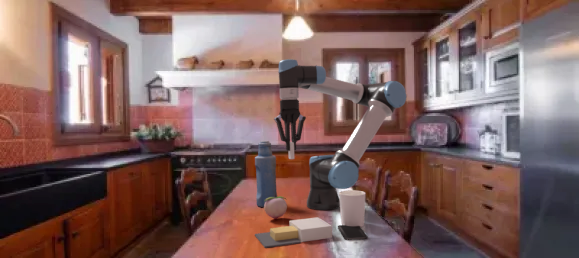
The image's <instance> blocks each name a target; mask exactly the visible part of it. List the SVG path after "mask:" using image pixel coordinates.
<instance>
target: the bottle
mask: <svg viewBox="0 0 579 258" xmlns="http://www.w3.org/2000/svg"><path fill="white" fill-rule="evenodd" d="M257 153H258V154H257V156H255V157H254V166H255V171H256V172H255V174H256V179H255V180H256V196H255V197H256V198H255V199H256V206H257V207H259V208H264V204H265V202H266V201H267V200H266V199H267V198H269V197H274V198H275V194H276V197H278V193H277V177H276V176H277V174H276V173H277V172H276V170H277V157H276V155H273V151H272V142H270V141H269V140H260V142H258V151H257ZM265 200H266V201H265Z"/></svg>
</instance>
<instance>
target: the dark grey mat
mask: <svg viewBox="0 0 579 258" xmlns="http://www.w3.org/2000/svg"><path fill="white" fill-rule="evenodd" d="M254 236H255V238H256V239H257V240H258V241H259V243H260V244H261V245H262V246H263V247H264V248H265V249H267V248H274V247H281V246H288V245H296V244H301V243H302V242H301V241H300V240H299V239H297V238H293V239H286V240H278V241H275V240H274V239H273V238H272V237H271V236H270V231H268V232H259V233H254Z"/></svg>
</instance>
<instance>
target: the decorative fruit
mask: <svg viewBox="0 0 579 258" xmlns="http://www.w3.org/2000/svg"><path fill="white" fill-rule="evenodd" d="M266 200H267V201H266ZM266 200H265V201H266V202H265V204H264V207H263V209H264V212H265V214H266V215H267V216H268V217H270V218H272V219H274V220H277V219H279V218H281V217H283V216H284V215H285V214H286V212H287V208H288V204H287V202H286V200H287V199H286V197H284V196H281V195H280V196H278V195H277V197H276V194H275V198H274V197H269V198H267V199H266Z"/></svg>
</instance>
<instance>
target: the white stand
mask: <svg viewBox="0 0 579 258" xmlns="http://www.w3.org/2000/svg"><path fill="white" fill-rule="evenodd" d="M289 226H293V227H294V228H296V229H297V230H298V238H297V239H299V240H300V241H301V243H302V242H303V243H304V242H309V241H318V240H324V239H332V238H333V227H332V226H333V225H331V224H329V223H328V222H326V221H325V220H323V219H321V217H310V218H301V219H292V220H289Z"/></svg>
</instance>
